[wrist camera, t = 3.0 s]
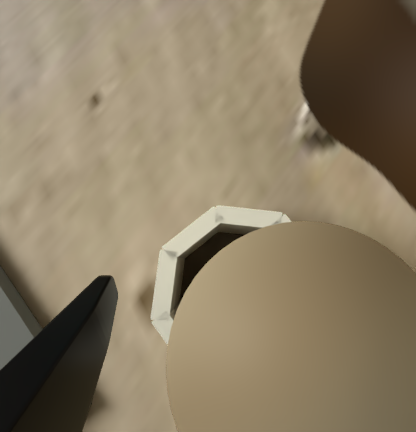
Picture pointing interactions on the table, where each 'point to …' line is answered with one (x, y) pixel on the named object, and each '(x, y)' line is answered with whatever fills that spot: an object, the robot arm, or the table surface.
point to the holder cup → (187, 243)
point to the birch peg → (296, 336)
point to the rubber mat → (14, 321)
